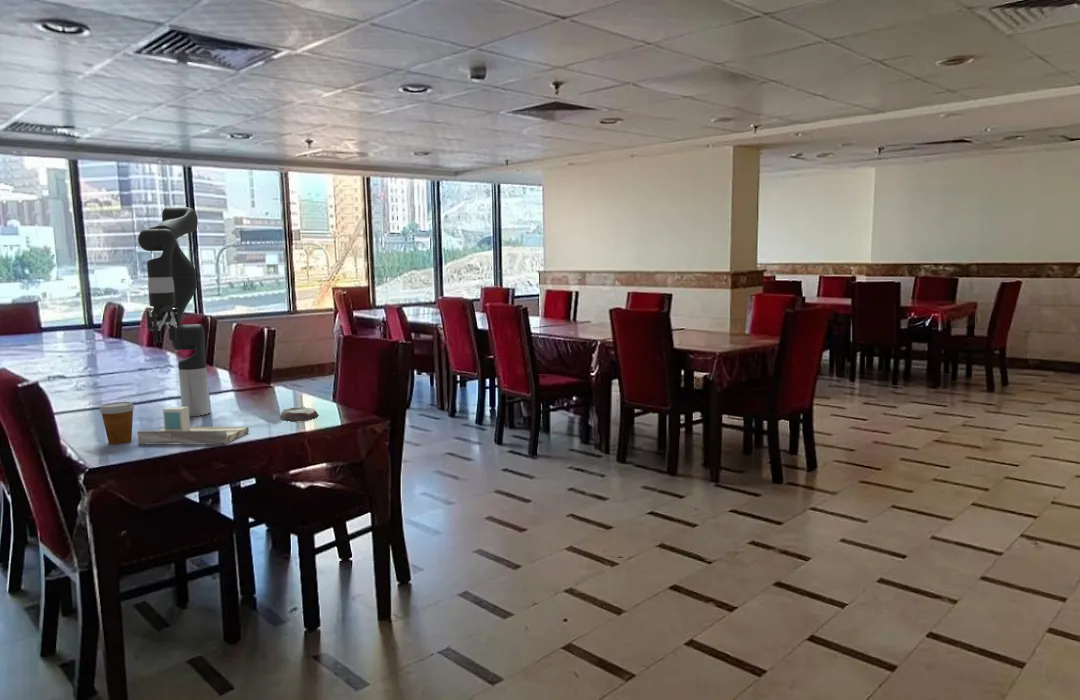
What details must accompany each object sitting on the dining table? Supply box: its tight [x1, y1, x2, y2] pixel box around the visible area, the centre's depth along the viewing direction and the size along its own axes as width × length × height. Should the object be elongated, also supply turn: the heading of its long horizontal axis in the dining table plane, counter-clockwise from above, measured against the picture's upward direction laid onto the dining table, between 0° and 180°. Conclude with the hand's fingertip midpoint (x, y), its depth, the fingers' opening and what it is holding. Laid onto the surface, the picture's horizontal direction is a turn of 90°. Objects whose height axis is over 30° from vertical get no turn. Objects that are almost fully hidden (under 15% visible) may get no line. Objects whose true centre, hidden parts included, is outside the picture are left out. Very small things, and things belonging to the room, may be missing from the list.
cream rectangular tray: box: [136, 426, 250, 445], centre depth 235 cm, size 15×28×4 cm, turn 85°
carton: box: [162, 406, 191, 431], centre depth 234 cm, size 6×4×8 cm
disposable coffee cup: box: [98, 401, 135, 445], centre depth 232 cm, size 10×10×12 cm
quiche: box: [278, 406, 320, 423], centre depth 264 cm, size 21×20×4 cm
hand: (165, 341), depth 242 cm, fingers open, 8 cm apart
